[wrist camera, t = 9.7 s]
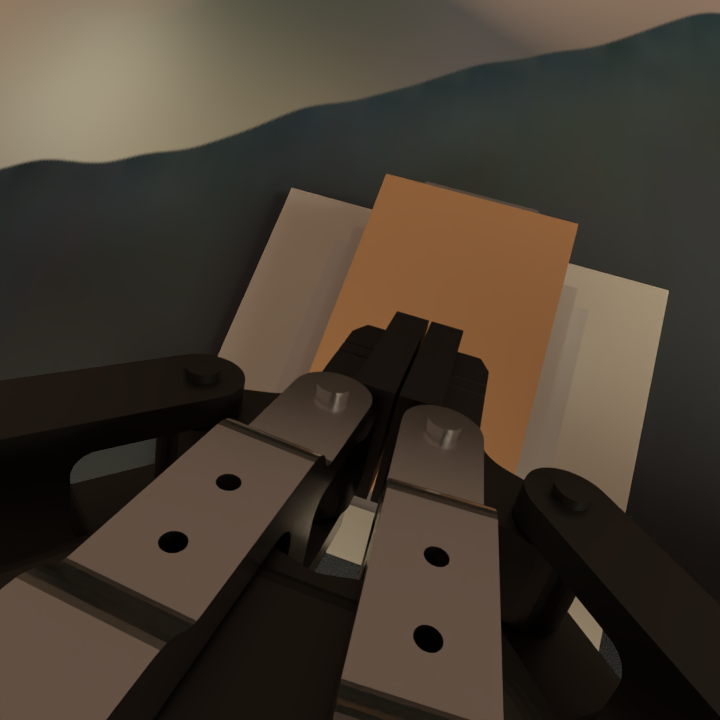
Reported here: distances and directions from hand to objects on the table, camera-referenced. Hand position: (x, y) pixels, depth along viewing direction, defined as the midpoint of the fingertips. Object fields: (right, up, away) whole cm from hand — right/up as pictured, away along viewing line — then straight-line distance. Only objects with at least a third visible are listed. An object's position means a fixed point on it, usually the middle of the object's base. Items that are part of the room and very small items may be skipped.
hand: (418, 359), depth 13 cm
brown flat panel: (0, -5, +8) cm, 9 cm away
